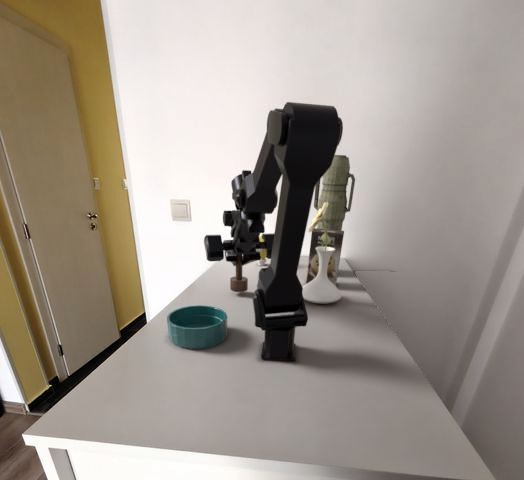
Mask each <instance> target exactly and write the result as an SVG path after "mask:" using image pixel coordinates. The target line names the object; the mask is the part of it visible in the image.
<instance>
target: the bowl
mask: <svg viewBox="0 0 524 480" xmlns="http://www.w3.org/2000/svg"><path fill="white" fill-rule="evenodd" d="M166 323H167V324H166V325H167V332H168V339H169V340H170V341H171V343H173V344H174V345H175V346H177V347H180V348H183V349H188V350H202V349H203V350H204V349H208V348H213V347H215V346H218V345H219V344H222V342H224V340H226V338H227V336H228V315H227V313H226V311H225V310H223V309H221V308H219V307H216V306H211V305H204V304H203V305H202V304H201V305H199V304H197V305H188V306H181V307H180V308H176V309H174V310H172V311H171V312H169V313H168V315H167V316H166Z"/></svg>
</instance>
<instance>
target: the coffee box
mask: <svg viewBox="0 0 524 480" xmlns="http://www.w3.org/2000/svg"><path fill="white" fill-rule="evenodd" d="M326 230H327V234H328V236H329V238H330V239H331V242H330V243H328V244H327V247H332V248H334V249H335V251H334V252H333V253H332V255H331V257H330V259H329V263H328V267H327V277H328V279H329V280H330V281H331V282H332V283H333V284H334V285H335V286H336V287H337V281H338V273H339V268H340V262H341V255H342V249H343V242H344V236H345V230H342V231H340V230H329V229H326ZM324 233H325V229H317V227H315V228H314V229H313V230H312V231H311V236H310V245H309V246H310V247H309V253H308V262H307V270H306V272H307V273H306V280H305V285H306V284H307V283H309V282H310V281H312V280H313V279H315V278H316V276H317V274H318V270H319V256H318V252H317V250H316V247H321V245H322V244H323V240H322V239H321V237H322V235H323V234H324ZM325 245H326V244H325V243H324V245H323V247H325Z"/></svg>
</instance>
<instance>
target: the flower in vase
mask: <svg viewBox="0 0 524 480" xmlns="http://www.w3.org/2000/svg"><path fill="white" fill-rule="evenodd" d="M328 204H329V203H328V202H327V203H324V204H323V207H322V209H321V208H320V209H319V211H318V214H317V213H316V216H315V217H314V218H313V219H312V220H311V222H312V223H311V224H310V225H309V226H308V227H307V230H308V231H307V232H308V233H312V230H313V229H314V228H317V225H318V223H319V222H321V221H322V223H323V225H324V228H325V233H324V234H323V235H322V237H321V239H322V240H323V244H322V245H321V247H316V250H317V252H318V256H319V270H318V274H317V276H316V278H315V279H313V280H312V281H310V282H309V283H307V284H306V283H305V284H304V285H302V288H303V291H302V294H303V298H304V301H307V302H309V303H314V304H323V305H324V304H332V303H336V302H338V301H339V300H340V299H341V298H342V293H341V291H340V289H339V288H338V287H337V285H336V286H335V285H334V284H333V283H332V282H331V281H330V280H329V279H328V277H327V267H328V263H329V259H330V257H331V255H332V253H333V252H334V251H335V249H334V248H332V247H327V244H328V243H330V242H331V239H330V238H329V236H328V234H327V230H326V226H325V223H324V221H323V215H324V213H325V212H326V210H327V207H328ZM324 243H325V244H326V245H325V247H323V245H324Z"/></svg>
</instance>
